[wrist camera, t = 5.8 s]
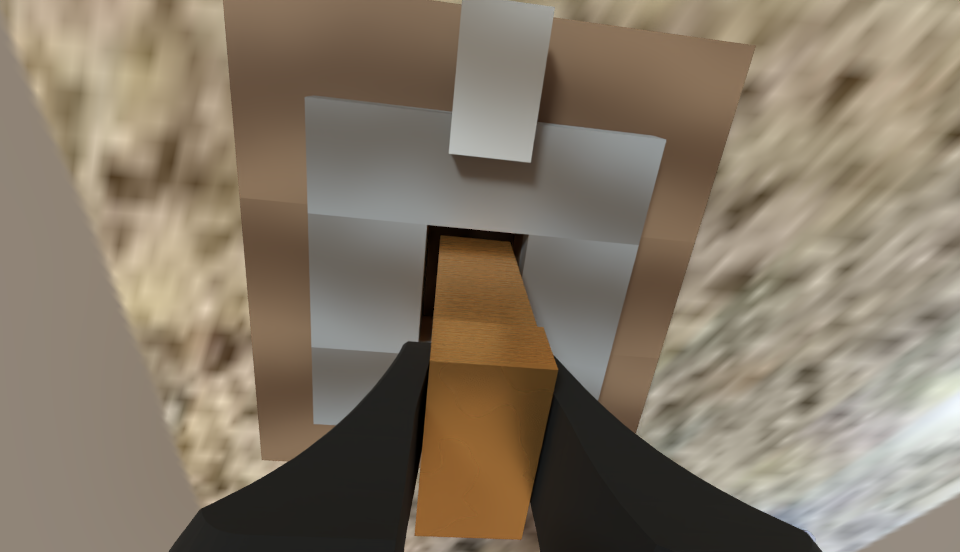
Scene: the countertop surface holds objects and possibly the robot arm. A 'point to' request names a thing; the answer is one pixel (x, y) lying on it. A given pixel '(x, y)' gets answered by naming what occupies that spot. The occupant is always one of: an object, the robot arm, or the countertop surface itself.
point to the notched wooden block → (482, 396)
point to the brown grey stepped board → (462, 184)
